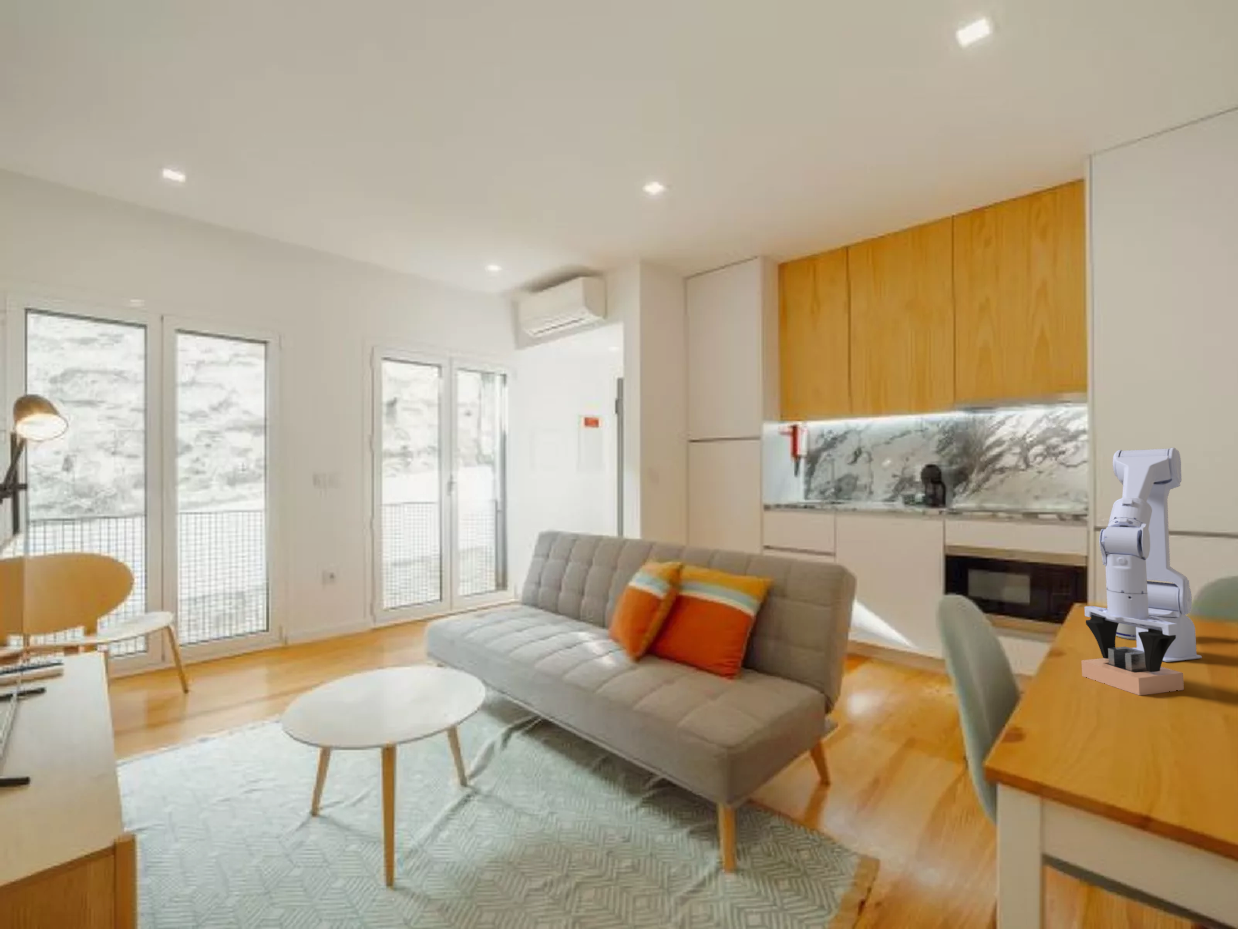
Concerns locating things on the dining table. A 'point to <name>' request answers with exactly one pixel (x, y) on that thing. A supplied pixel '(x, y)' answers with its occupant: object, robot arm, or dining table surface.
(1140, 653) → the bracket
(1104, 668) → the well
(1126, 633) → the energy drink
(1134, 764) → the dining table surface
